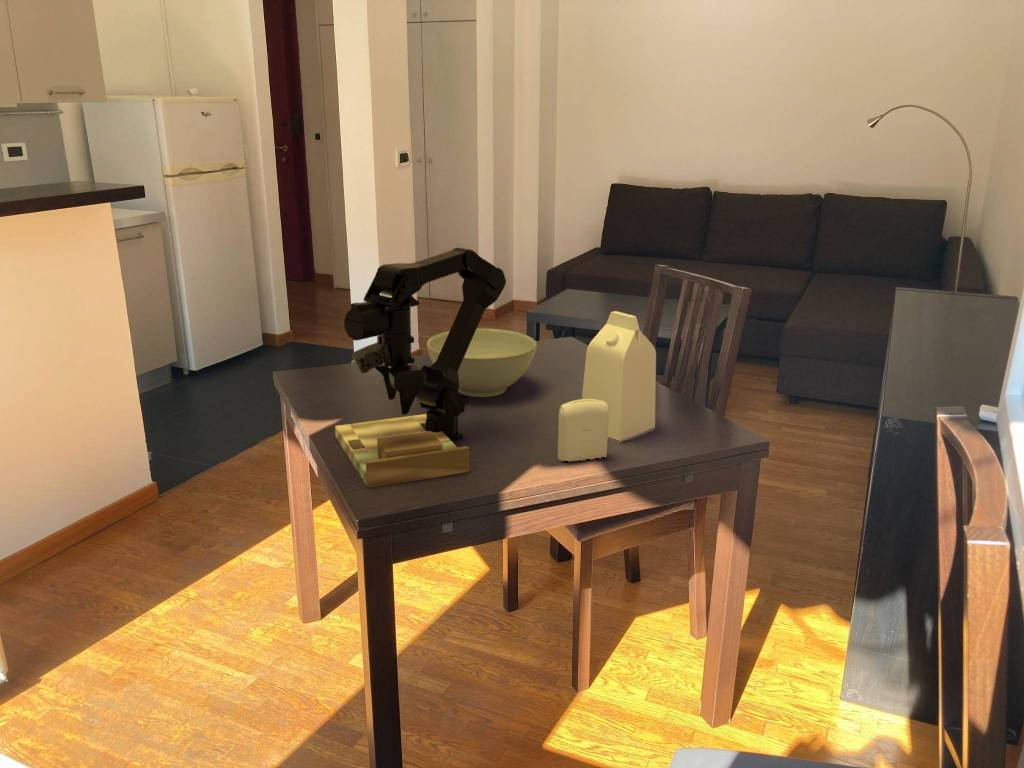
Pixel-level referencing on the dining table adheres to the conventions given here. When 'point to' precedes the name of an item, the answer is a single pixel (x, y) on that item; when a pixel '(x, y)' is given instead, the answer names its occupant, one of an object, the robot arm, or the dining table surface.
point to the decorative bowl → (489, 360)
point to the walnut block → (407, 445)
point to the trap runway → (387, 471)
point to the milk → (622, 376)
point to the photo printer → (582, 430)
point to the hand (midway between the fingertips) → (397, 406)
